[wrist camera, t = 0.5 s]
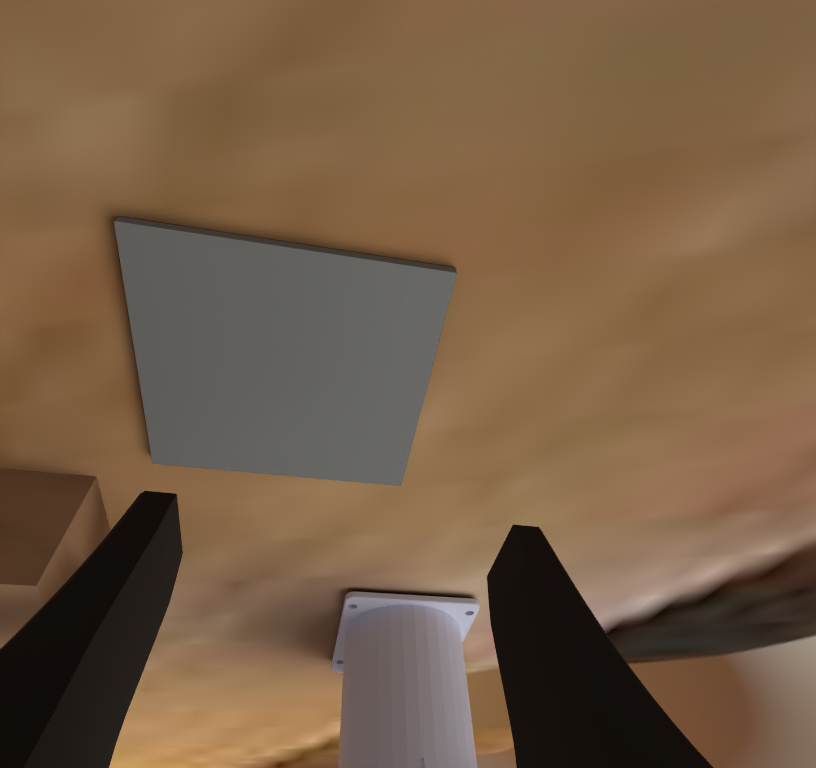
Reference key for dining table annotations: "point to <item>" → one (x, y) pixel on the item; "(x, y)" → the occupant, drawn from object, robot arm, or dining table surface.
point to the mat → (279, 351)
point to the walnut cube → (43, 538)
